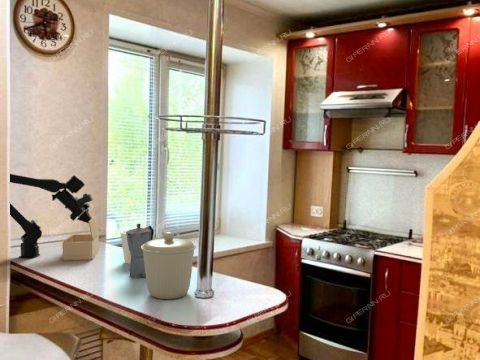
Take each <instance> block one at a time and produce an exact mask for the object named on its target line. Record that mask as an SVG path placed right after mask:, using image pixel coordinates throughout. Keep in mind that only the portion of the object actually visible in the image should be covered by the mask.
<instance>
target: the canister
mask: <svg viewBox="0 0 480 360" xmlns="http://www.w3.org/2000/svg"><path fill="white" fill-rule="evenodd" d="M162 236H163V238H156V239H153V240H151V241H148V242H146V243H145V244H144V245H142V246H141V249H142V250H143V255H144V264H145V273H146V277H145V279H146V280H145V281H146V286H147V291H148V293H149V295H150V296H152V297H153V298H156V299H161V300H174V299H178V298H181V297H184V296H185V295H187V294H188V292H189V290H190V286H191V278H192V274H193V273H192V271H193V262H194V254H195V249H196V248H197V245H196V244H195V243H194V242H192V241H191V240H187V239H184V238H177V237H176V238H175V234H174V233H173V232H171V231H166V232H165V233H164V234H163V235H162Z"/></svg>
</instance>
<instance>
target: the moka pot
mask: <svg viewBox="0 0 480 360" xmlns="http://www.w3.org/2000/svg"><path fill="white" fill-rule="evenodd" d="M141 225H142V224H141V223H137V224H136V227H135V228H132V229H128V230H129V231H127V230H126V231H127V232H126V235H127V241H128V247H129V251H130V255H131V262H130V264H129V277H131V278H136V279H138V278H139V279H141V278H142V279H143V278H146V273H145V264H144V255H143V250H142V249H141V246H142V245H144V244H145V243H146V242H148V241H151V240H154V235H155V230H154V228H153V227H152V225H148V226H147V227H141Z"/></svg>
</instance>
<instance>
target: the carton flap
mask: <svg viewBox="0 0 480 360" xmlns="http://www.w3.org/2000/svg"><path fill="white" fill-rule="evenodd" d="M91 218H92V219H91V220H90V221H89V223H88V227H89V231H90V234H91V237H92V240H93V239H94V238H95V237H96V236H97V235H98V234H99V235H100V233H99V227H98V223H97V217H96V215H95V216H93V217H91Z"/></svg>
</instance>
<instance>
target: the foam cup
mask: <svg viewBox="0 0 480 360" xmlns="http://www.w3.org/2000/svg"><path fill="white" fill-rule="evenodd" d="M129 230H130V229H128V230H122V231H120V239H121V246H122V252H123V254H122V255H123V260H124V263H125V264H127V263H128V265H130V262H131V255H130V251H129V247H128V241H127V235H126V232H127V231H129Z"/></svg>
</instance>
